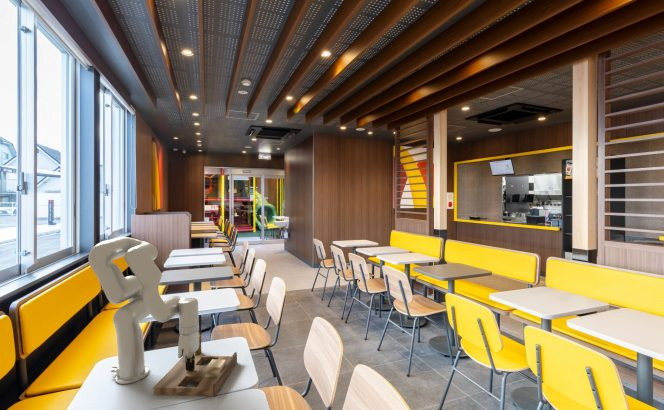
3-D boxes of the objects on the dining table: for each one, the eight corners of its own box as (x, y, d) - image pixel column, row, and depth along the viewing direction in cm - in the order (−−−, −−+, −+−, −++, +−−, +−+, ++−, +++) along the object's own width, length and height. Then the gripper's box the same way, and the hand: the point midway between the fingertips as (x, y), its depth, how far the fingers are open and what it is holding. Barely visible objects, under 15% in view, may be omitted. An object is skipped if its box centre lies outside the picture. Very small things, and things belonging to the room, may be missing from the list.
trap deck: (153, 394, 130) (153, 382, 130) (184, 361, 154) (184, 351, 153) (215, 396, 128) (215, 384, 128) (237, 362, 152) (236, 352, 152)
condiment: (203, 355, 159) (202, 331, 158) (184, 361, 154) (183, 336, 153) (200, 349, 165) (199, 326, 164) (182, 354, 160) (180, 330, 160)
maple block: (206, 375, 138) (206, 367, 137) (212, 367, 144) (212, 359, 143) (220, 375, 137) (220, 367, 137) (225, 367, 143) (225, 359, 143)
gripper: (189, 320, 147) (190, 360, 149) (170, 336, 133) (172, 379, 134) (205, 320, 147) (206, 360, 148) (189, 336, 132) (190, 380, 133)
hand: (190, 369), depth 141 cm, fingers closed
